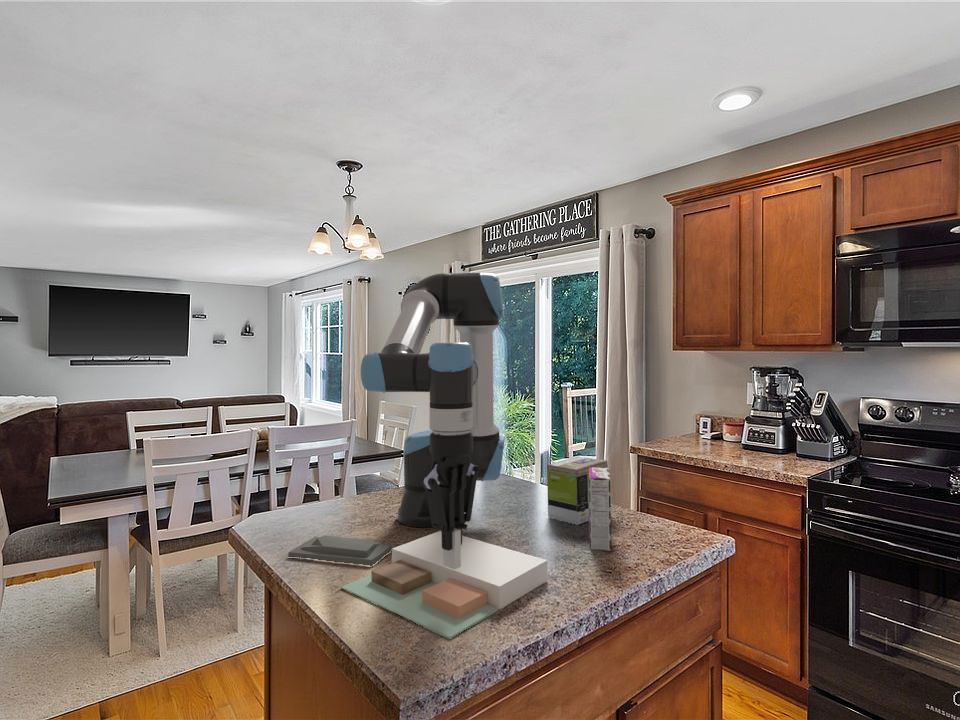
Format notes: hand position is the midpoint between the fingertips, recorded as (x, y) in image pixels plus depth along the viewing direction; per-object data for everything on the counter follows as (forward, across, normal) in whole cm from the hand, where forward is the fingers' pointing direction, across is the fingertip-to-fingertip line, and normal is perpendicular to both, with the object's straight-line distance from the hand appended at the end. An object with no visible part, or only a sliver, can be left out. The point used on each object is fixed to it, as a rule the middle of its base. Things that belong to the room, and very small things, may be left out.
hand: (452, 565), depth 93 cm
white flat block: (+7, +12, +7) cm, 15 cm away
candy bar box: (+8, +44, -5) cm, 45 cm away
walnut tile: (+7, 0, +14) cm, 15 cm away
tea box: (+8, +60, +9) cm, 61 cm away
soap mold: (+8, +2, +35) cm, 36 cm away
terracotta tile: (+7, 0, 0) cm, 7 cm away
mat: (+7, -2, +7) cm, 10 cm away
